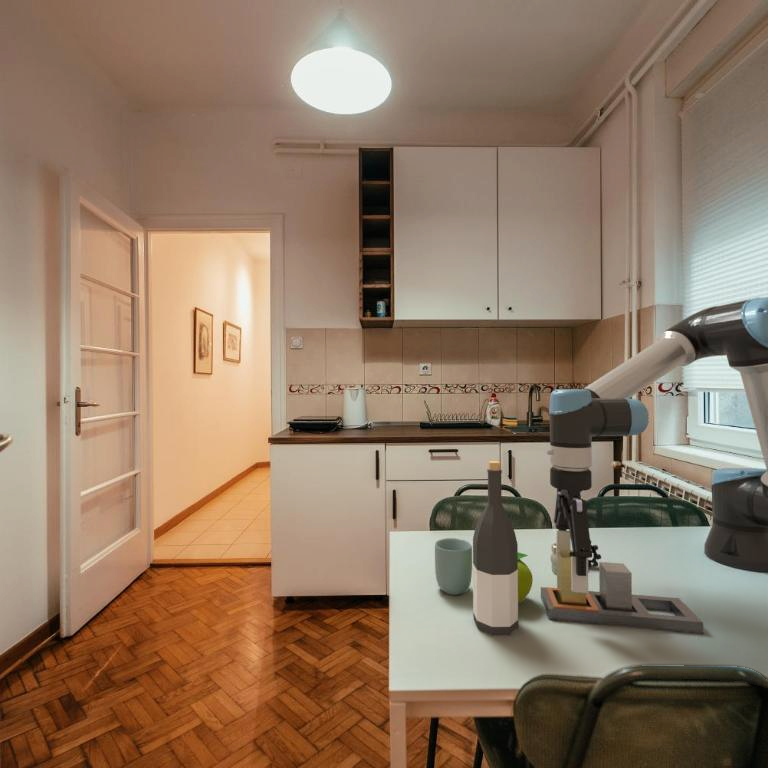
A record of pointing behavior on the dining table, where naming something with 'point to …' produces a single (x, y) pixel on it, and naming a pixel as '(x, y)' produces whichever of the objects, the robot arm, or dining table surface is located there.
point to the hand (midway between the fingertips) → (571, 575)
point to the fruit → (523, 578)
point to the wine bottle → (495, 564)
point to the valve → (593, 548)
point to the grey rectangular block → (615, 587)
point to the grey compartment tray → (636, 618)
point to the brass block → (567, 581)
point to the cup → (453, 565)
